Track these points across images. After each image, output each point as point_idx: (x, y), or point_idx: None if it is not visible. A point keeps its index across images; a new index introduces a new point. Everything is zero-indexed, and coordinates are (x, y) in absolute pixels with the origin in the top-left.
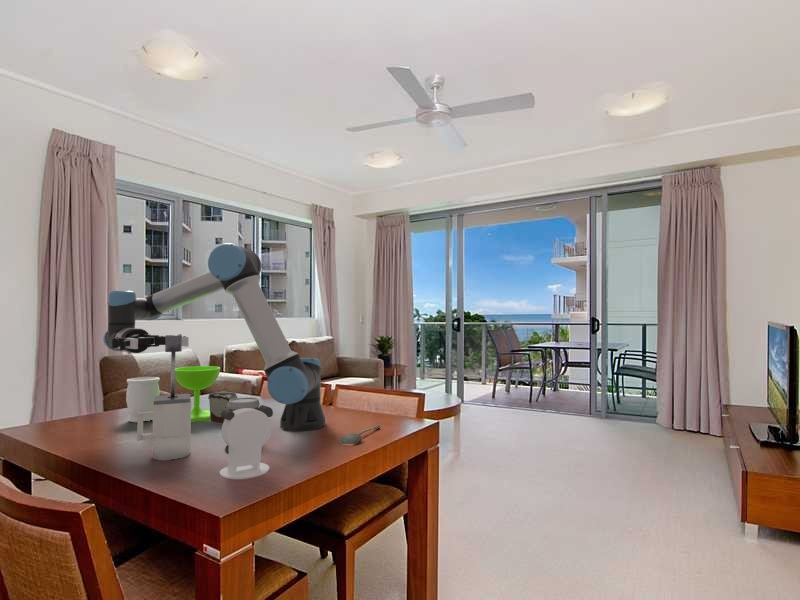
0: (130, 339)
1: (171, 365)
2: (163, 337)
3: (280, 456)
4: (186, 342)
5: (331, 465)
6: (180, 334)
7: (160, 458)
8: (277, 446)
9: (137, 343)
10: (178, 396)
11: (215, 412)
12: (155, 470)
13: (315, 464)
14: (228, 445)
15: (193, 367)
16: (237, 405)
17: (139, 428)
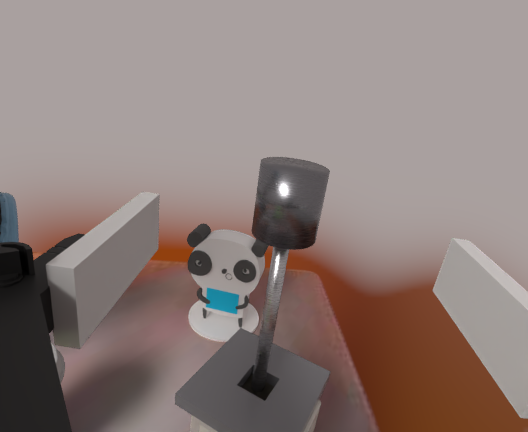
0: (509, 284)
1: (282, 285)
2: (66, 413)
3: (139, 318)
4: (155, 225)
5: (153, 264)
6: (16, 242)
7: None
8: (75, 354)
9: (445, 262)
10: (239, 377)
11: None
12: (315, 426)
13: (157, 275)
14: (245, 294)
15: None
16: (60, 361)
17: None
